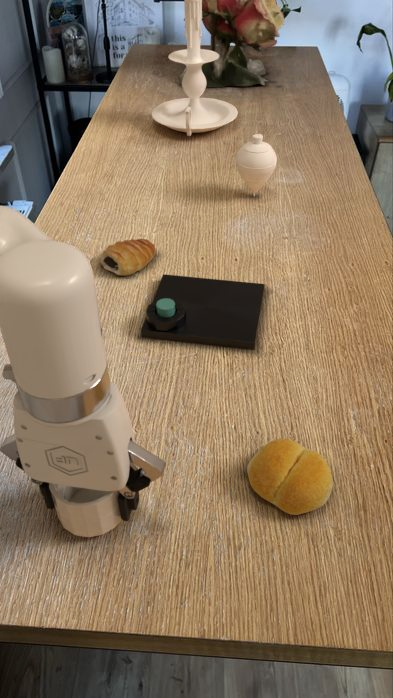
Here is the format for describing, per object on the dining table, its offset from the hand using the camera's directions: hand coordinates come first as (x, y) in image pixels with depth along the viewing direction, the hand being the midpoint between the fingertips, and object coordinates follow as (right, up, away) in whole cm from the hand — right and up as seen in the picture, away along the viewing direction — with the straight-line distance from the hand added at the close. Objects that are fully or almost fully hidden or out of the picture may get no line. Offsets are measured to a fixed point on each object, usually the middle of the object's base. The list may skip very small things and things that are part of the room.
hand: (92, 502), depth 61 cm
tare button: (+7, +21, +22) cm, 31 cm away
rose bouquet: (+20, +96, +111) cm, 148 cm away
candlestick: (+10, +69, +79) cm, 105 cm away
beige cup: (0, -1, +1) cm, 1 cm away
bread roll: (+21, +1, +3) cm, 21 cm away
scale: (+12, +21, +26) cm, 36 cm away
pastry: (0, +30, +36) cm, 47 cm away
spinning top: (+22, +46, +53) cm, 74 cm away
